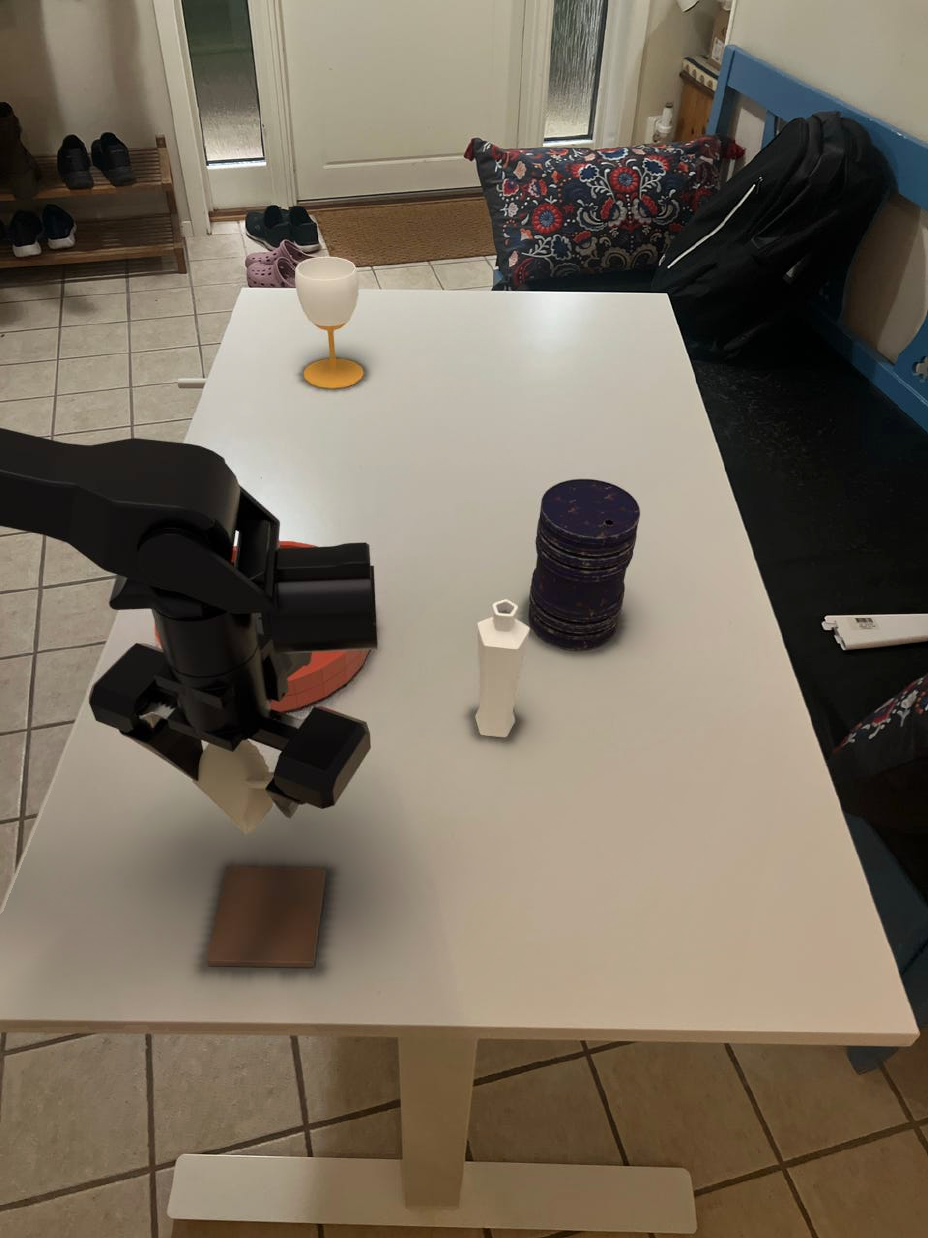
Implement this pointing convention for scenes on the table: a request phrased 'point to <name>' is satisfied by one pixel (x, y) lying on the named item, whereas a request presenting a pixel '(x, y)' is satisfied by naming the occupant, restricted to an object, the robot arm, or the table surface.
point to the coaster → (267, 917)
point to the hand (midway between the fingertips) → (245, 794)
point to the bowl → (314, 668)
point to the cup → (329, 314)
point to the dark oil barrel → (581, 562)
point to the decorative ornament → (236, 783)
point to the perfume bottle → (499, 668)
